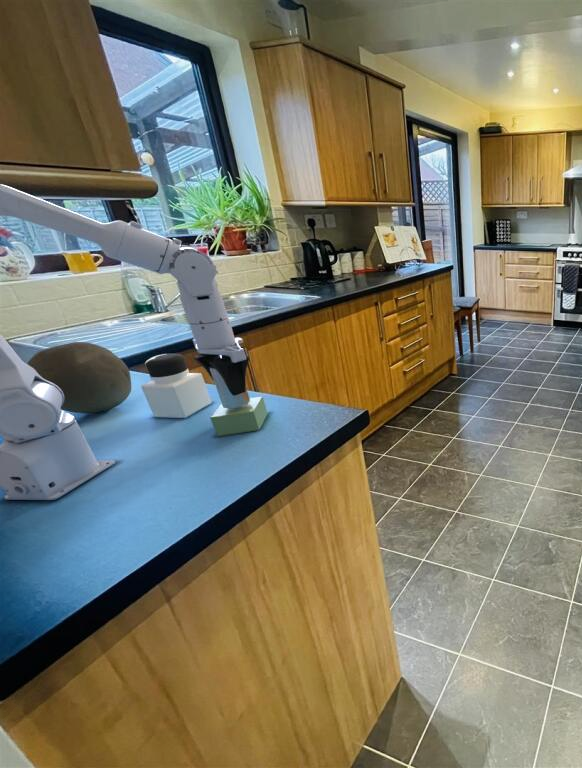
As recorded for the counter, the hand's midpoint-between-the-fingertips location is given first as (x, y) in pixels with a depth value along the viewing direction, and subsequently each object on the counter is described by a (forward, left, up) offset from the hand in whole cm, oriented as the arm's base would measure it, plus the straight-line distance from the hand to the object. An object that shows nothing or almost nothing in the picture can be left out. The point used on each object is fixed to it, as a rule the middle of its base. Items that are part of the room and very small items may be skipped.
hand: (232, 390), depth 75 cm
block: (0, 0, -7) cm, 7 cm away
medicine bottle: (+6, +17, -8) cm, 20 cm away
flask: (0, 0, -3) cm, 3 cm away
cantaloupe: (+5, +35, -8) cm, 36 cm away
